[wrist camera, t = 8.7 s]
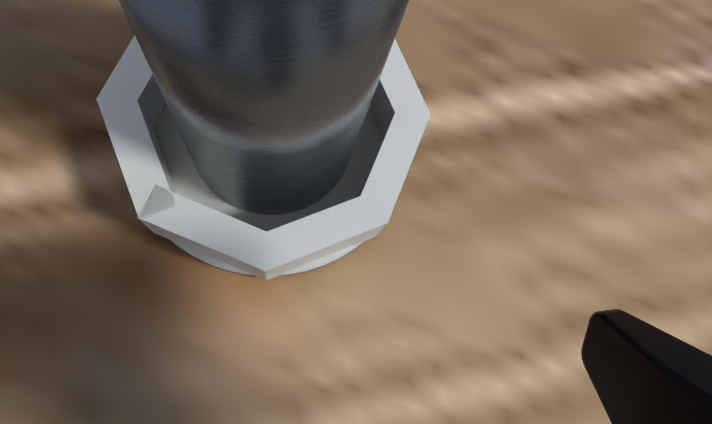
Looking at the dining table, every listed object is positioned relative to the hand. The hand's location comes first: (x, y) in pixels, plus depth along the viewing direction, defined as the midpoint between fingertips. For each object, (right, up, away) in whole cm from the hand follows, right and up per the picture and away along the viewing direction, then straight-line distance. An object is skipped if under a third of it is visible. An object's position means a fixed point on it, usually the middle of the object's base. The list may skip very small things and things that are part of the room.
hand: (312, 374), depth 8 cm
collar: (-2, +5, +10) cm, 11 cm away
